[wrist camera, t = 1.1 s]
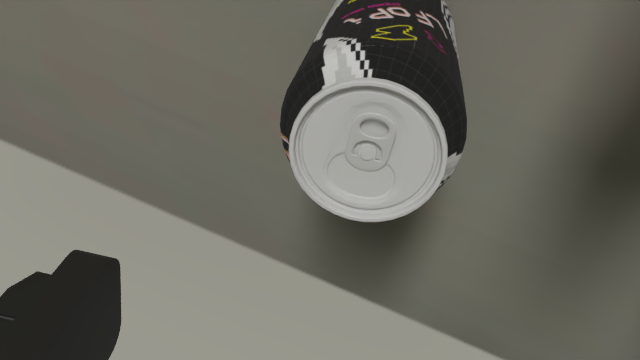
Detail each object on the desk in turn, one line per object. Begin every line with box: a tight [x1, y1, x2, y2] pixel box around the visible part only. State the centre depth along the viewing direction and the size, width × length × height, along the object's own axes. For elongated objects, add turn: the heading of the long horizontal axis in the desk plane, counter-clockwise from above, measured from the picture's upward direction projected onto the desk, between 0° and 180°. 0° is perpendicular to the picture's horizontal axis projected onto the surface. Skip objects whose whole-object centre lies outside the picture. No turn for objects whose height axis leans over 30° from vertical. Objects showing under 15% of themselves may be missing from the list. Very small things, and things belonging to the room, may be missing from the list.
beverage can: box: [280, 0, 467, 222], centre depth 22 cm, size 6×6×12 cm
